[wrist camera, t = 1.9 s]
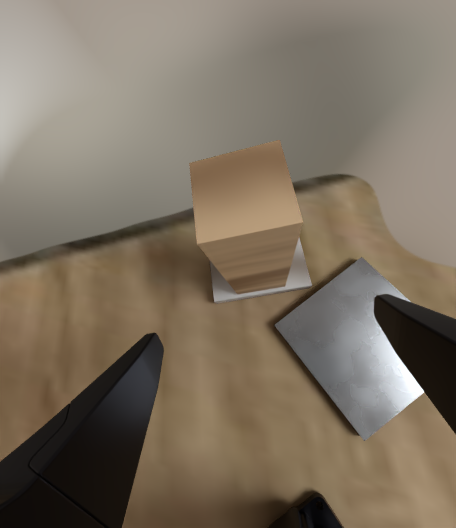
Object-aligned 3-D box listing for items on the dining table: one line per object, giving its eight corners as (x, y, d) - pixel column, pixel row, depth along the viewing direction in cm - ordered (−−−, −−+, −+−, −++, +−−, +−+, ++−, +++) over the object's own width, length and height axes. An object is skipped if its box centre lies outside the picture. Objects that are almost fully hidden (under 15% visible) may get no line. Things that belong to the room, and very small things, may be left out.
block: (309, 288, 21) (367, 216, 8) (217, 303, 22) (146, 260, 9) (297, 240, 22) (329, 121, 10) (211, 257, 23) (145, 169, 11)
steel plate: (460, 354, 17) (468, 355, 16) (360, 436, 17) (364, 441, 16) (358, 259, 21) (361, 257, 20) (274, 325, 20) (274, 324, 19)
